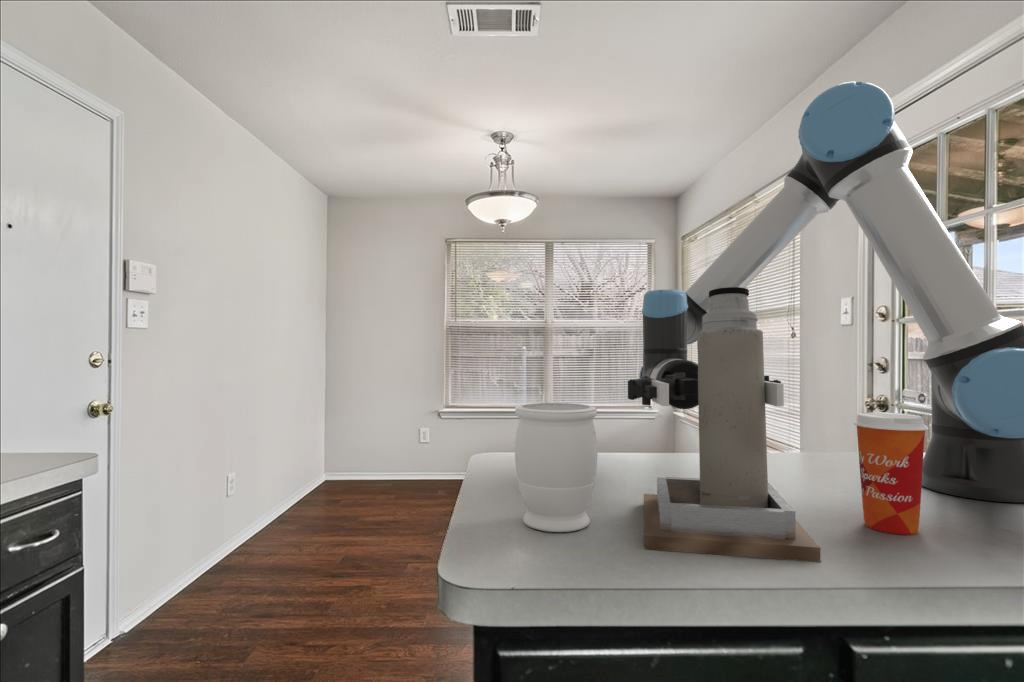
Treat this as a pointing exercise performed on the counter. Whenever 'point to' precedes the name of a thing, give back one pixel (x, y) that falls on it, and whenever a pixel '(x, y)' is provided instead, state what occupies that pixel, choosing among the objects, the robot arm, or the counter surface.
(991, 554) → the counter surface
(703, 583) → the counter surface
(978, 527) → the counter surface
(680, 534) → the walnut dock board
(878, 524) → the paper cup
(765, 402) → the robot arm
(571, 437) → the jar
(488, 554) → the counter surface
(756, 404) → the thermos bottle
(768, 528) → the steel collar
